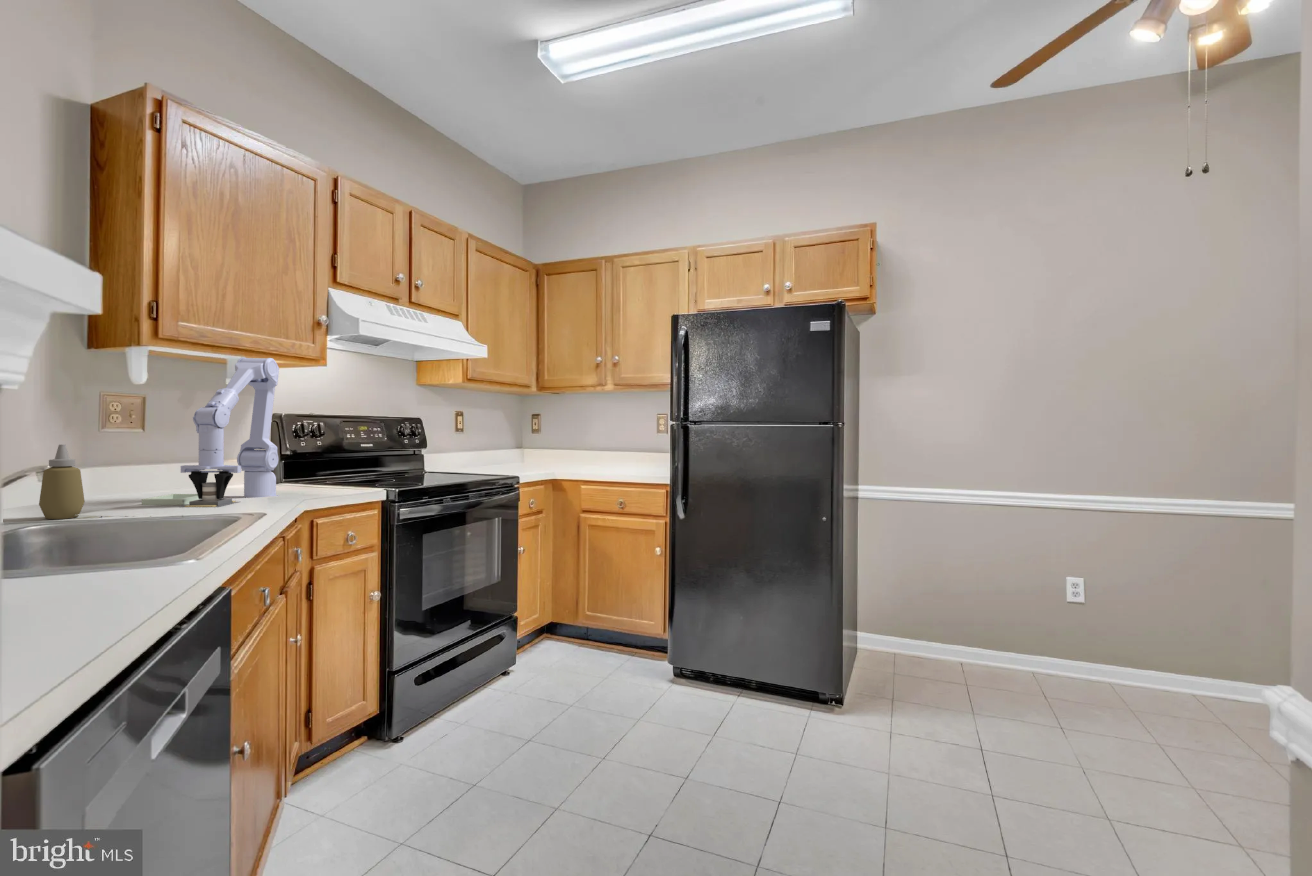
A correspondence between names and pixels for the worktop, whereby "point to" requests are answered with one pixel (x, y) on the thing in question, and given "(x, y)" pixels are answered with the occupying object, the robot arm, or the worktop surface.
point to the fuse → (209, 491)
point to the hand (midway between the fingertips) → (211, 498)
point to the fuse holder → (211, 503)
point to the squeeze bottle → (61, 488)
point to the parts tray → (170, 499)
